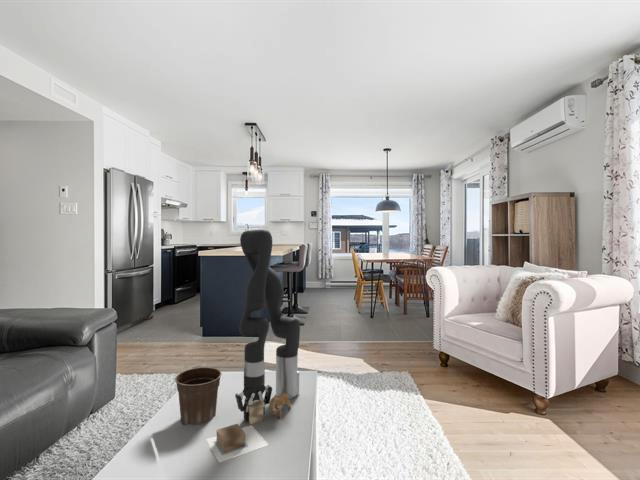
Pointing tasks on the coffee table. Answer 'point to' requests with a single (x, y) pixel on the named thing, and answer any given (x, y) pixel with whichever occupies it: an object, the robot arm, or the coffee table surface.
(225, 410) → the coffee table surface
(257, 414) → the oak block
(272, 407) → the lion figurine
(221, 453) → the board
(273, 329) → the robot arm
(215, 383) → the plant pot
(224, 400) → the coffee table surface
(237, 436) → the walnut plinth
